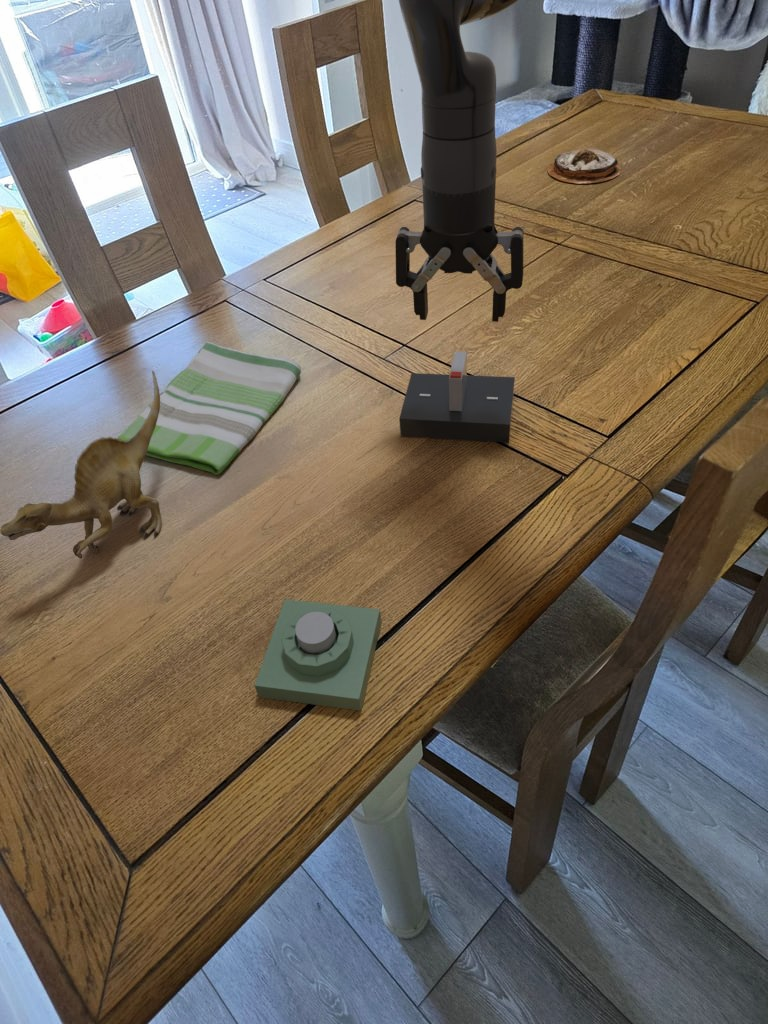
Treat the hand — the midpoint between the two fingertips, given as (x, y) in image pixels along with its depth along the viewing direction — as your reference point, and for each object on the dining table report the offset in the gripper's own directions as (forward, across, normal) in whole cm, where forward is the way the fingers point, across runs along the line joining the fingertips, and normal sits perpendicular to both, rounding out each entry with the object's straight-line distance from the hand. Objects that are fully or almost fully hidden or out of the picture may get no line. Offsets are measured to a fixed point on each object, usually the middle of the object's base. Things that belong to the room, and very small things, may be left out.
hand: (459, 317), depth 83 cm
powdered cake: (+15, -17, -84) cm, 87 cm away
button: (+11, +9, +39) cm, 42 cm away
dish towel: (+15, +34, +2) cm, 37 cm away
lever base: (+14, 0, 0) cm, 15 cm away
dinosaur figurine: (+15, +36, +23) cm, 45 cm away
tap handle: (+11, 0, 0) cm, 11 cm away
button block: (+14, +9, +39) cm, 43 cm away
